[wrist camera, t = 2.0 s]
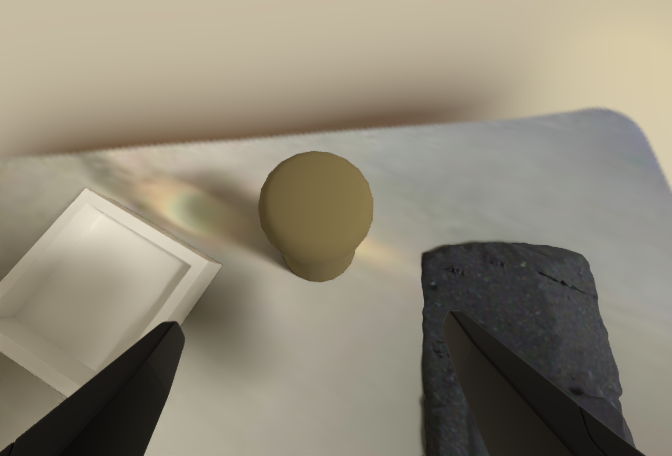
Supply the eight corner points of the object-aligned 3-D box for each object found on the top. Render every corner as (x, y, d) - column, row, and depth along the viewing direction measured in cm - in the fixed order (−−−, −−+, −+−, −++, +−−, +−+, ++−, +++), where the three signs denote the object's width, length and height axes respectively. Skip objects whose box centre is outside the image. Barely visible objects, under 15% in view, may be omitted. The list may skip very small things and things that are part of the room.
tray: (129, 400, 17) (98, 418, 15) (9, 320, 18) (-39, 324, 16) (222, 265, 20) (208, 261, 17) (113, 200, 21) (85, 187, 18)
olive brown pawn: (368, 232, 21) (416, 172, 10) (331, 297, 20) (342, 303, 9) (307, 196, 22) (294, 104, 11) (266, 256, 20) (205, 217, 10)
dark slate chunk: (582, 249, 22) (649, 238, 18) (649, 573, 17) (771, 678, 12) (412, 241, 22) (436, 228, 17) (426, 577, 16) (467, 690, 12)
